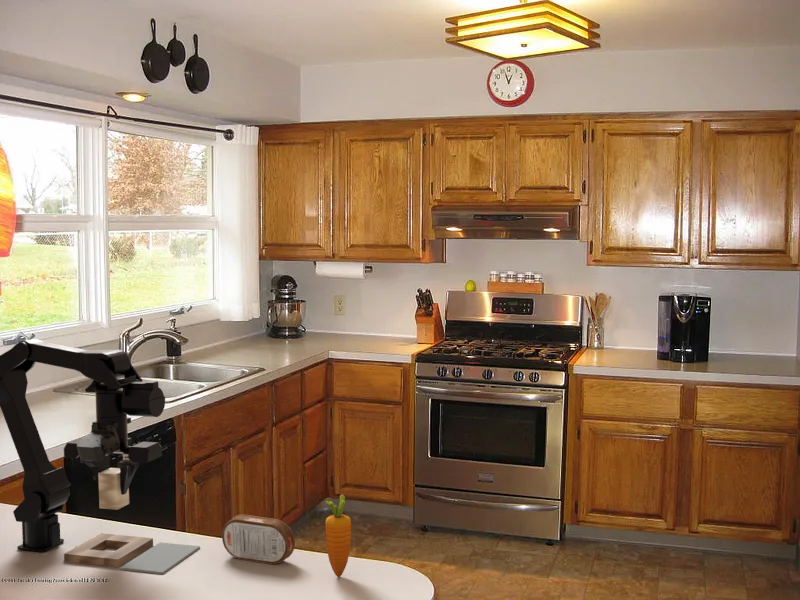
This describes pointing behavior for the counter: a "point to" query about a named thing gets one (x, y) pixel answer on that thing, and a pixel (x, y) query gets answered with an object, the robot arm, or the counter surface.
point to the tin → (258, 539)
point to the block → (111, 490)
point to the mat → (160, 558)
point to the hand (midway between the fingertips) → (114, 493)
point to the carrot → (338, 537)
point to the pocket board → (94, 555)
